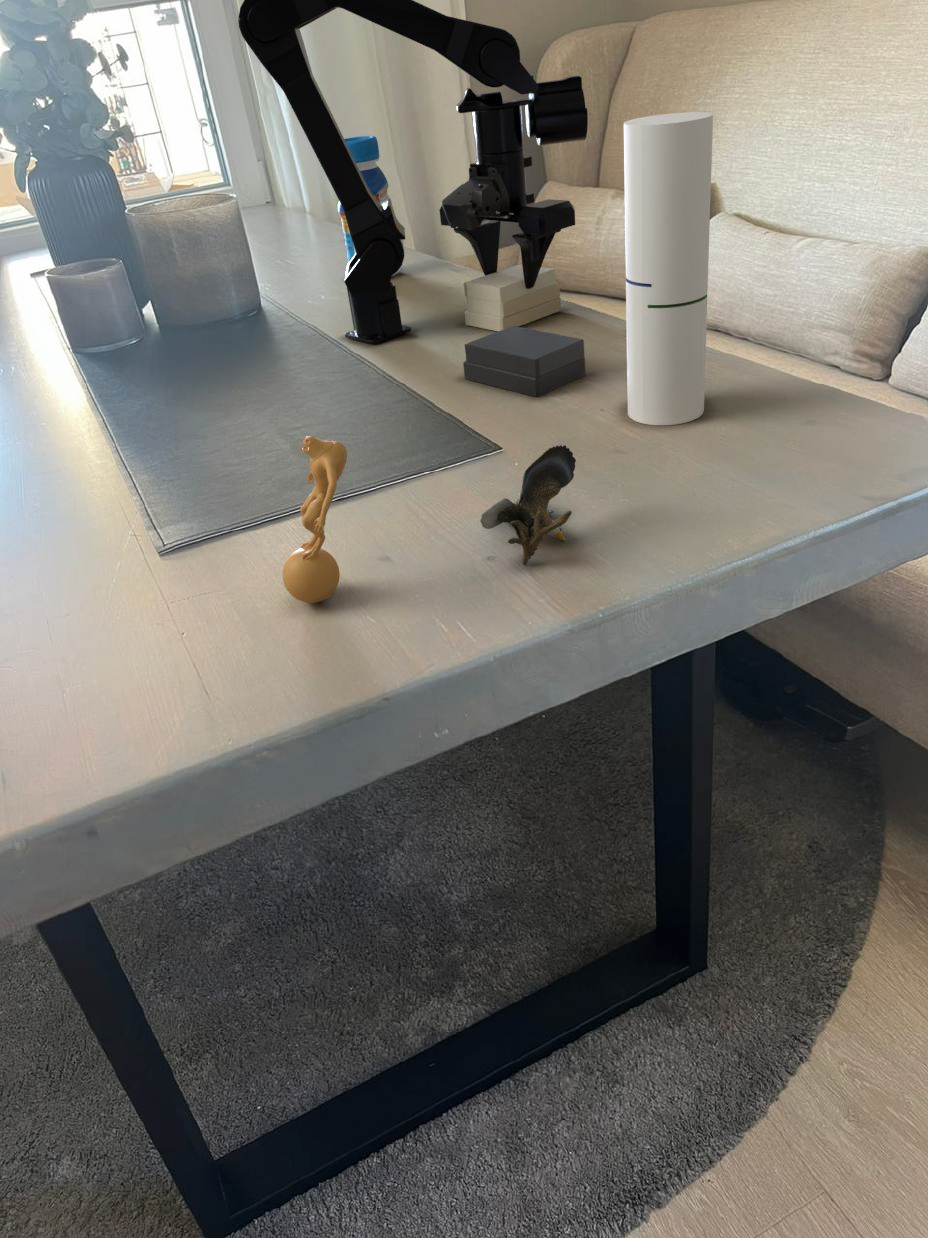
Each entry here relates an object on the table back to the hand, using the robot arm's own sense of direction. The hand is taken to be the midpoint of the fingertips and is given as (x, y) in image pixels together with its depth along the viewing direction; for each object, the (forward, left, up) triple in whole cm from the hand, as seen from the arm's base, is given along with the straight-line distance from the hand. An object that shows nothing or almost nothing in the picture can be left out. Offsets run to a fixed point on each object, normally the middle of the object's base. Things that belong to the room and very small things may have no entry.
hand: (510, 284), depth 121 cm
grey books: (+18, -16, -4) cm, 24 cm away
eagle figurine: (+45, -42, -4) cm, 62 cm away
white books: (0, 0, -4) cm, 4 cm away
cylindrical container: (+37, -16, -4) cm, 41 cm away
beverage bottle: (-39, +7, -4) cm, 40 cm away
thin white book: (0, 0, -1) cm, 1 cm away
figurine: (+39, -57, -4) cm, 69 cm away
